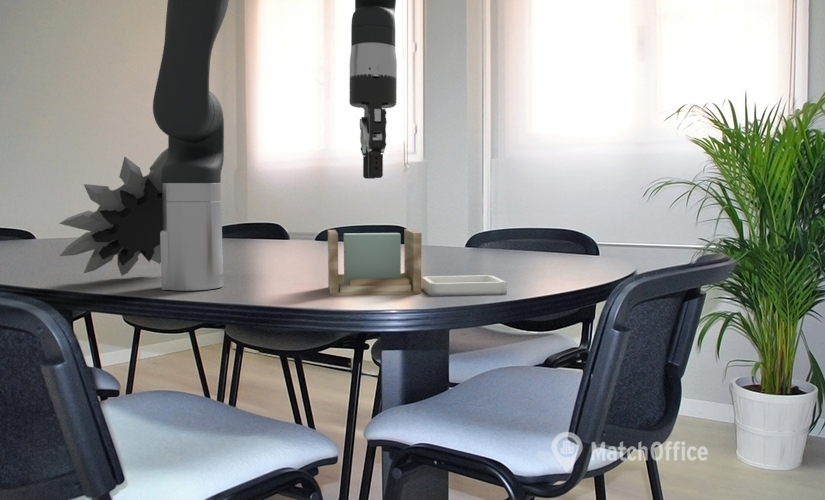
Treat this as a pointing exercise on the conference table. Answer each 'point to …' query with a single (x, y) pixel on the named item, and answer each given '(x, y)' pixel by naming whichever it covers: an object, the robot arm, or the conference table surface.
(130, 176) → the decorative piece
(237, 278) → the conference table surface
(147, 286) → the conference table surface
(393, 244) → the sheet
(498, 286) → the tray
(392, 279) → the offcut stack
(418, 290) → the rack
